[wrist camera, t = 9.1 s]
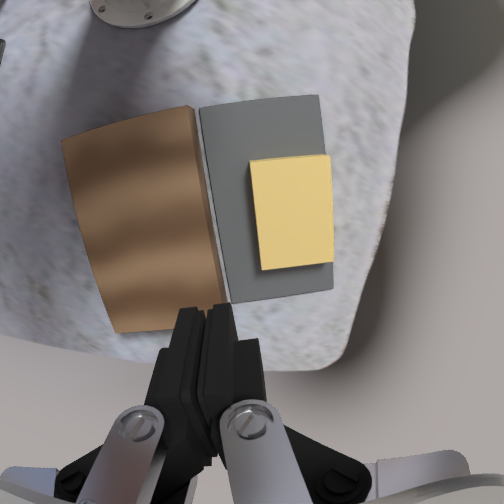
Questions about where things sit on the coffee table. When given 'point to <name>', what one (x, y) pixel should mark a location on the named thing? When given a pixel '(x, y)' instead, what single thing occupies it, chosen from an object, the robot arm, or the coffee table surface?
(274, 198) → the tile
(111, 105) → the coffee table surface
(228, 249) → the mat
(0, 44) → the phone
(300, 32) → the coffee table surface
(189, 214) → the brown wooden block
